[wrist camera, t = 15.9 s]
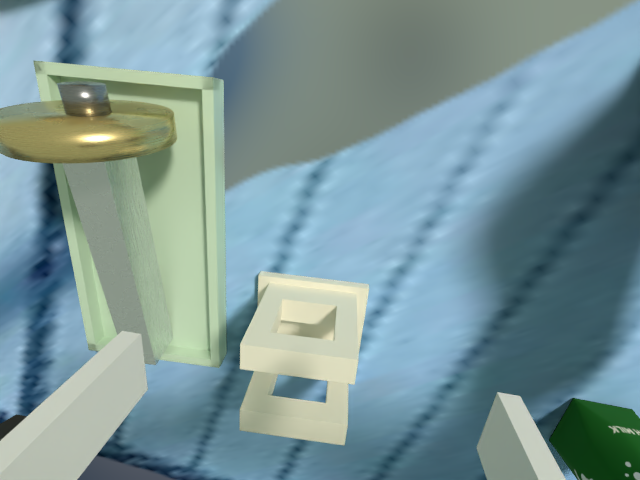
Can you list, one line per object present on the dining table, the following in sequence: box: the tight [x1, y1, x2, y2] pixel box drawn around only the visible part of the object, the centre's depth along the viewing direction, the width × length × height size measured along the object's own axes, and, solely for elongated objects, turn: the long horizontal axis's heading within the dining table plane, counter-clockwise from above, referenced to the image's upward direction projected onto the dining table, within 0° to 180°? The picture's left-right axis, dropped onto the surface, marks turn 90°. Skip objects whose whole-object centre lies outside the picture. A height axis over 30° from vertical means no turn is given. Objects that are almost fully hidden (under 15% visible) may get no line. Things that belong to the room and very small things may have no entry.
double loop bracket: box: [240, 271, 369, 445], centre depth 34 cm, size 11×12×12 cm
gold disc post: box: [0, 81, 177, 365], centre depth 32 cm, size 28×12×12 cm, turn 175°
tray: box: [34, 61, 227, 368], centre depth 36 cm, size 16×31×2 cm, turn 175°
